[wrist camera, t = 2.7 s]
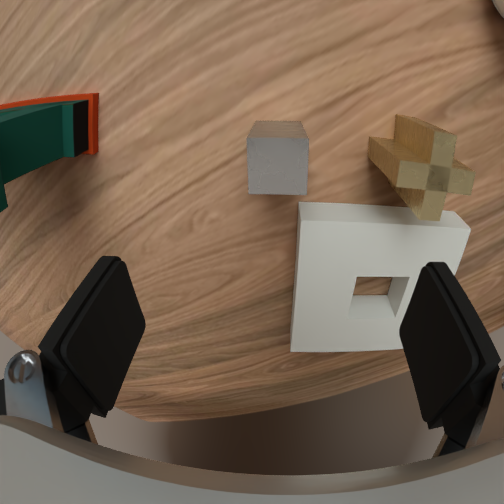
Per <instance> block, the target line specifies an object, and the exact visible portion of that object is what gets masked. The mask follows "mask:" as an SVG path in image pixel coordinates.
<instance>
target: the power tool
mask: <svg viewBox="0 0 504 504" xmlns="http://www.w3.org/2000/svg"><path fill="white" fill-rule="evenodd" d="M98 99H99V93H89V94H75V95H64V96H54V97H46V98H38V99H31V100H25V101H19V102H13V103H8V104H3V105H0V212H2V211H3V210H4V209H6V208H7V207H8V204H7V199H6V194H5V189H4V184H6V183H8V182H10V181H12V180H14V179H16V178H18V177H20V176H22V175H24V174H26V173H28V172H30V171H32V170H35V169H37V168H39V167H41V166H43V165H46V164H48V163H50V162H53V161H55V160H58V159H60V158H62V157H76V156H78V155H80V154H92V155H93V154H95V153H97V152H98Z"/></svg>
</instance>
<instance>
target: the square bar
mask: <svg viewBox="0 0 504 504" xmlns="http://www.w3.org/2000/svg"><path fill="white" fill-rule="evenodd" d="M308 149H309V138H308V136H307V134H306V131H305V129H304V127H303V125H302V123H301V121H255V123H254V125H253V127H252V129H251V131H250V133H249V134H248V136H247V162H248V189H249V194H284V195H307V177H308Z"/></svg>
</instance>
